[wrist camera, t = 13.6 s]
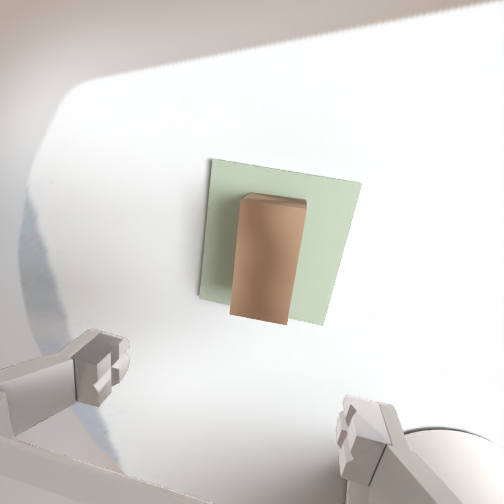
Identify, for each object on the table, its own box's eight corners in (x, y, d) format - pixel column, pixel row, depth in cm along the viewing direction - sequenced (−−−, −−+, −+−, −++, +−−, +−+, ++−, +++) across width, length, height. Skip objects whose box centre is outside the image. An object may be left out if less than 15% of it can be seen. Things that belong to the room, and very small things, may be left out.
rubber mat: (322, 322, 27) (322, 325, 26) (201, 295, 28) (199, 298, 27) (360, 182, 22) (361, 183, 22) (214, 159, 24) (212, 159, 23)
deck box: (306, 199, 23) (307, 209, 19) (289, 297, 26) (286, 325, 22) (251, 192, 23) (240, 199, 19) (241, 289, 26) (229, 314, 22)
